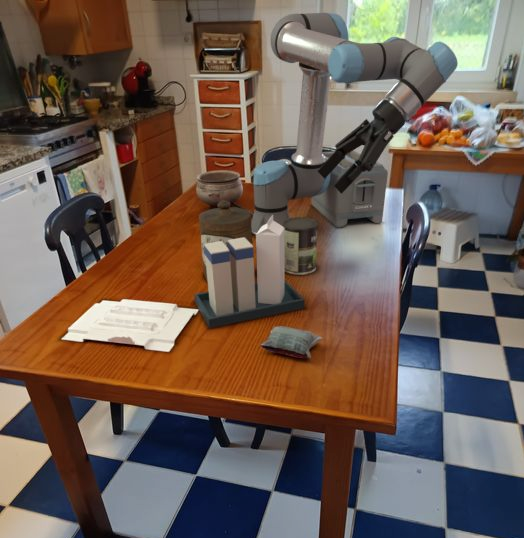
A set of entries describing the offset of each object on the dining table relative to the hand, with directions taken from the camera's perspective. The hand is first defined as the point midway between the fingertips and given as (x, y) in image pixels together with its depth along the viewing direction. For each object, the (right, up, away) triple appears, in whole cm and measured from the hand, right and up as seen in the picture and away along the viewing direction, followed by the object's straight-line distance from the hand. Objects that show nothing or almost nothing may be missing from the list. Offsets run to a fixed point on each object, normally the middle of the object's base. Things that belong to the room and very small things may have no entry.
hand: (328, 182), depth 117 cm
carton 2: (-21, -29, +10) cm, 37 cm away
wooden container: (-26, -18, +27) cm, 42 cm away
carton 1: (-27, -30, +9) cm, 41 cm away
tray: (-20, -29, +11) cm, 37 cm away
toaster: (+17, +11, +70) cm, 73 cm away
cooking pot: (-33, +19, +84) cm, 92 cm away
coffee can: (-5, -16, +30) cm, 34 cm away
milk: (-14, -27, +13) cm, 33 cm away
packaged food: (-9, -41, -7) cm, 42 cm away
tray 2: (-49, -34, +5) cm, 60 cm away
